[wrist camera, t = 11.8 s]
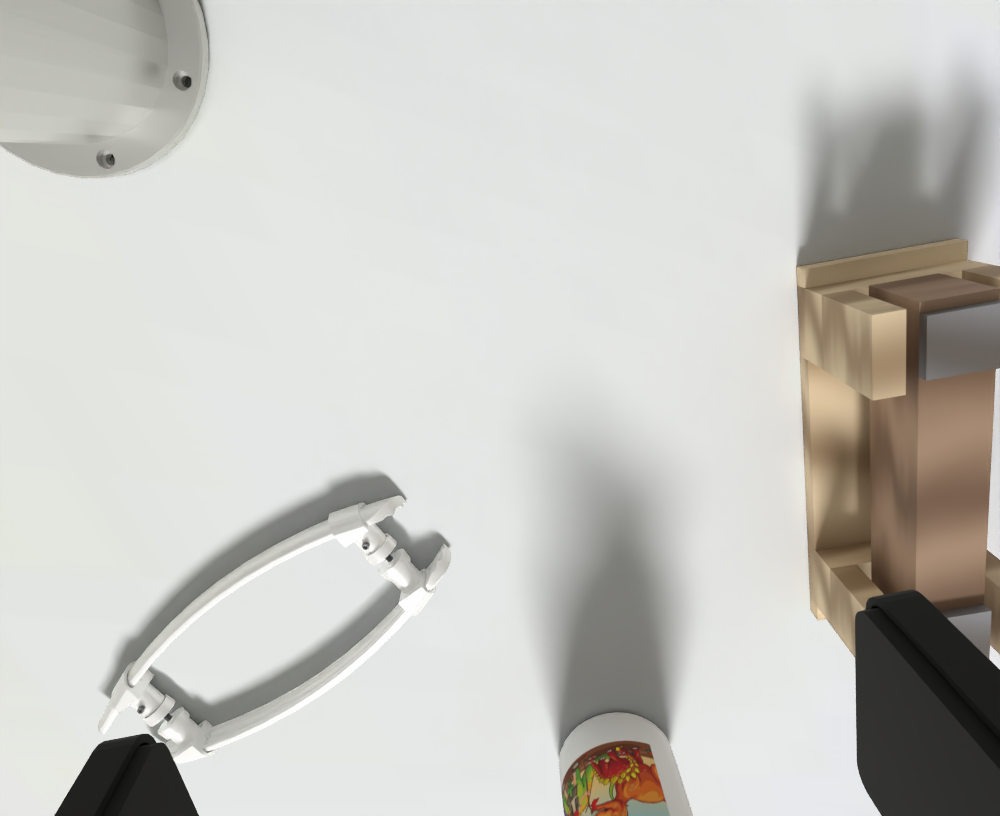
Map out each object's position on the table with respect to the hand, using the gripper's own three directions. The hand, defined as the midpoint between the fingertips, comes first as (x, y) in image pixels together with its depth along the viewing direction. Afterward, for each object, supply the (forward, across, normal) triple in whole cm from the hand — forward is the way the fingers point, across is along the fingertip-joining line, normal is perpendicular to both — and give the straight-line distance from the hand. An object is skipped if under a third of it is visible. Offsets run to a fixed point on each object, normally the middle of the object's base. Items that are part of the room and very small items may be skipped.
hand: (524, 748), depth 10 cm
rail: (+27, -21, +13) cm, 37 cm away
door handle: (+32, +17, +19) cm, 41 cm away
